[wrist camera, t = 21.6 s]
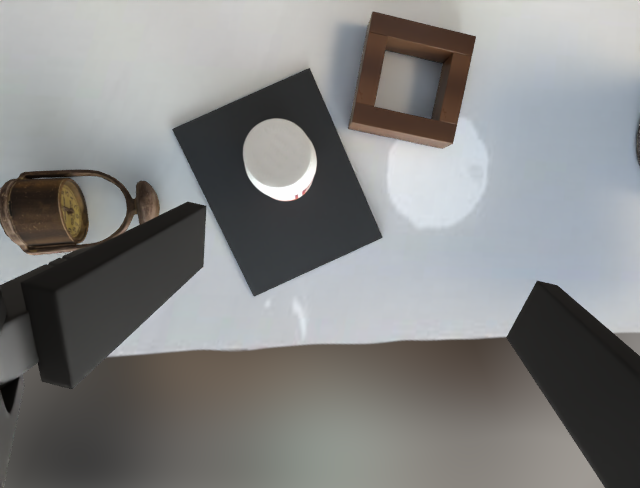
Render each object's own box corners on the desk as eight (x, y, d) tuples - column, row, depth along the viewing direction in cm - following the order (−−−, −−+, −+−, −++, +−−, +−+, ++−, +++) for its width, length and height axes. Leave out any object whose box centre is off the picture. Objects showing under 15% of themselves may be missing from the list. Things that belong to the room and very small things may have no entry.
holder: (442, 148, 35) (453, 143, 33) (347, 128, 35) (351, 121, 32) (463, 49, 35) (476, 36, 32) (367, 26, 34) (372, 11, 31)
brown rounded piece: (-4, 129, 27) (-53, 237, 26) (136, 165, 27) (95, 276, 26) (61, 162, 35) (26, 249, 33) (172, 191, 34) (142, 279, 33)
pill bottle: (296, 134, 34) (294, 94, 23) (323, 185, 35) (334, 170, 23) (246, 161, 34) (219, 134, 23) (274, 211, 34) (261, 209, 23)
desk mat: (381, 237, 36) (382, 237, 36) (254, 295, 36) (254, 296, 35) (309, 69, 34) (309, 67, 33) (173, 130, 33) (172, 129, 33)
